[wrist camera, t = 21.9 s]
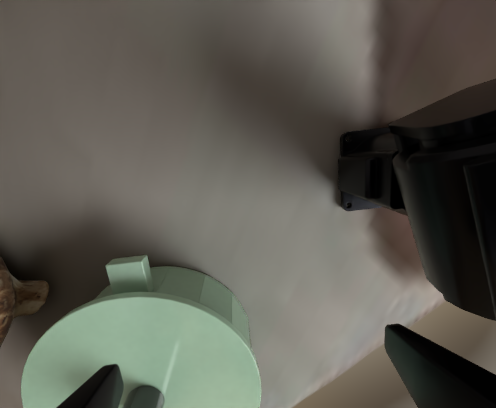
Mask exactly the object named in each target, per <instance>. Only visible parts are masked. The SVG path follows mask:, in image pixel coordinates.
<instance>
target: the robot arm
mask: <svg viewBox="0 0 496 408" xmlns="http://www.w3.org/2000/svg"><path fill="white" fill-rule="evenodd" d="M388 125H389V128H379V129H370V130H360V131H351V132H345V133H343V134H342V135H341V138H340V152H341V157H340V158H339V160H338V174H339V189H340V190H341V206H342V208H343V209H344V210H346V211H354V210H362V209H370V208H379V207H384V208H387V209H390V210H393V211H396V212H398V213H401V214H404V215H407V216H408V219H409V222H410V225H411V229H412V232H413V236H414V239H415V243H416V246H417V249H418V253H419V256H420V260H421V263H422V266H423V269H424V272H425V275H426V278H427V279H428V280H429V282H430V283H431V284H432V285H433V286H434V287H435V288H436V289H437V290H438V291H439V292H441V293H442V294H443V297H444V299H445V300H446V301H448V302H450V303H452V304H453V305H455V306H457V307H459V308H461V309H463V310H465V311H468V312H471V313H473V314H476V315H479V316H481V317H484V318H487V319H491V320H495V321H496V79H493V80H490V81H487V82H484V83H481V84H478V85H475V86H472V87H469V88H466V89H463V90H461V91H459V92H457V93H454V94H452V95H450V96H448V97H446V98H444V99H441V100H439V101H437V102H435V103H433V104H431V105H428V106H426V107H424V108H422V109H420V110H418V111H415V112H413V113H411V114H409V115H407V116H405V117H402V118H400V119H398V120H396V121H394V122H392V123H390V124H388ZM347 135H348V136H349V141H346V136H347ZM347 203H350V205H349V206H348V207H346V204H347ZM385 349H386V352H387V354H388V356H389V358H390V359H391V361H392V363H393V365H394V366H395V368H396V370H397V372H398V374H399V375H400V377H401V379H402V381H403V382H404V384H405V386H406V388H407V389H408V391H409V393H410V395H411V397H412V398H413V400H414V402H415V403H416V405H417V407H418V408H496V375H495V374H493V373H491V372H489V371H487V370H485V369H483V368H482V367H479V366H478V365H476V364H474V363H472V362H470V361H468V360H466V359H464V358H463V357H461V356H459V355H457V354H455V353H453V352H451V351H449V350H448V349H446V348H444V347H442V346H440V345H438V344H436V343H434V342H432V341H430V340H429V339H426V338H425V337H423V336H421V335H419V334H417V333H415V332H413V331H411V330H410V329H408V328H406V327H404V326H402V325H400V324H391V325H387V326H386V327H385ZM123 390H124V382H123V379H122V375H121V371H120V368H119V365H118V364H110V365H105V366H103V367H101V368H100V369H99V370H98V371H97V372H96V373H95V374H93V375H92V376H91V377H90V378H89V379H88V380H87V381H86V382H84V383H83V384H82V385H81V386H80V387H79V388H78V389H77V390H76V391H74V392H73V393H72V394H71V395H70V396H69V397H68V398H67V399H65V400H64V401H63V402H62V403H61V404H60V405H59V406H58V407H56V408H119V404H120V401H121V397H122V394H123Z"/></svg>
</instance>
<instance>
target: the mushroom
mask: <svg viewBox="0 0 496 408" xmlns="http://www.w3.org/2000/svg"><path fill="white" fill-rule="evenodd" d="M48 293H49V285H48V283H47V282H45V281H23V280H17V279H16V278H15V277H13V276H12V275H11V274H10V272H9V271H8V269H7V267H6V265H5V263H4V261H3V259H2V258H1V256H0V347H1V345H2V343H3V341H4V339H5V337H6V335H7V333H8V330H9V328H10V326H11V323H12V321H13V319H14V318H15V317H18V316H25V315H32V314H34V313H35V312H37V311H38V310H39V309H40V308H41V307H42V306H43V305H44V304H45V302H46V299H47V297H48Z"/></svg>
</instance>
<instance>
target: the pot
mask: <svg viewBox="0 0 496 408" xmlns="http://www.w3.org/2000/svg"><path fill="white" fill-rule="evenodd" d="M105 267H106V270H107V274H108V278H109V282H110V285H109V286H107V287H106V288H105V289H104V290H103V291H102V292H101V293H100V294H99V295H98V296H97V297H96V298H95V299H94V300H96V299H99V298H102V297H105V296H109V295H115V294H120V293H128V292H159V293H165V294H172V295H176V296H180V297H183V298H187V299H190V300H193V301H195V302H198V303H200V304H203V305H205V306H207V307H208V308H210V309H212V310H214V311H216V312H217V313H219V314H220V315H221V316H223V317H224V318H225V319H227V320H228V321H229V322H230V323H232V324H233V325H234V326H235V327H236V328H237V329H238V330H239V331H240V333H241V334H242V335H243V337H244V338H245V339H246V340H247V342H248V344H249V345H250V347H251V339H250V331H249V322H248V316H247V315H246V313H245V311H244V309H243V308H242V306H241V304H240V302H239V301H238V300H237V298H236V297H235V296H234V295H233V293H232V292H231V291H230V290H229V289H228V288H226V287H225V286H224V285H222V284H221V283H220V282H219V281H217V280H215V279H213V278H212V277H210V276H208V275H206V274H203V273H201V272H198V271H195V270H191V269H187V268H181V267H172V266H162V267H152V268H150V266H149V262H148V257H147V255H142V256H134V257H126V258H117V259H112V260H111V261H110V262H109V263H108V264H107V265H106V266H105ZM251 349H252V348H251Z"/></svg>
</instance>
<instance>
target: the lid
mask: <svg viewBox="0 0 496 408" xmlns="http://www.w3.org/2000/svg"><path fill="white" fill-rule="evenodd" d="M110 364H118V365H119V368H120V371H121V375H122V379H123V382H124V390H123V394H122V397H121V401H120V404H119V408H259V406H260V400H261V378H260V372H259V367H258V363H257V360H256V358H255V355H254V352H253V351H252V349H251V347H250V345H249V344H248V342H247V340H246V339H245V338H244V337H243V335H242V334H241V333H240V331H239V330H238V329H237V328H236V327H235V326H234V325H233V324H232V323H230V322H229V321H228V320H227V319H225V318H224V317H223V316H221V315H220V314H219V313H217V312H216V311H214V310H212V309H210V308H208V307H207V306H205V305H203V304H200V303H198V302H195V301H193V300H190V299H187V298H183V297H180V296H176V295H172V294H165V293H159V292H128V293H120V294H115V295H109V296H105V297H102V298H99V299H96V300H93V301H90V302H88V303H86V304H84V305H81V306H79V307H77V308H75V309H74V310H72V311H71V312H69V313H67V314H66V315H64V316H63V317H62V318H60V319H59V320H58V321H57V322H56V323H55V324H53V325H52V326H51V327H50V328H49V329H48V330H47V331H46V332H45V333H44V334H43V335H42V337H41V338H40V339H39V340H38V341H37V343H36V344H35V346H34V347H33V349H32V351H31V352H30V354H29V356H28V359H27V361H26V364H25V366H24V370H23V374H22V379H21V397H22V404H23V408H56V407H58V406H59V405H60V404H61V403H62V402H63V401H64V400H65V399H67V398H68V397H69V396H70V395H71V394H72V393H73V392H74V391H76V390H77V389H78V388H79V387H80V386H81V385H82V384H83V383H84V382H86V381H87V380H88V379H89V378H90V377H91V376H92V375H93V374H95V373H96V372H97V371H98V370H99V369H100V368H101V367H103V366H105V365H110Z"/></svg>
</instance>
